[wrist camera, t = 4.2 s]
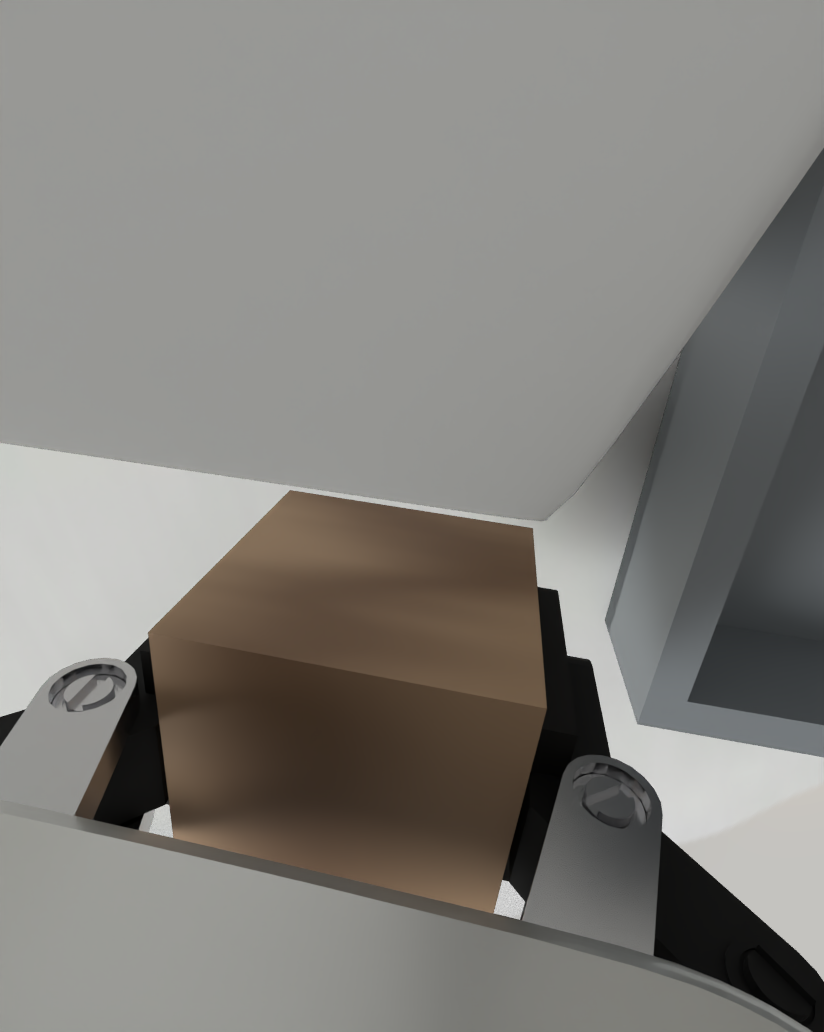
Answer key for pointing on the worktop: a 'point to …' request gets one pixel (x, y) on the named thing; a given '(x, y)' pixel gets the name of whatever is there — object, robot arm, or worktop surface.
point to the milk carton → (380, 227)
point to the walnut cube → (358, 696)
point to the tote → (738, 510)
